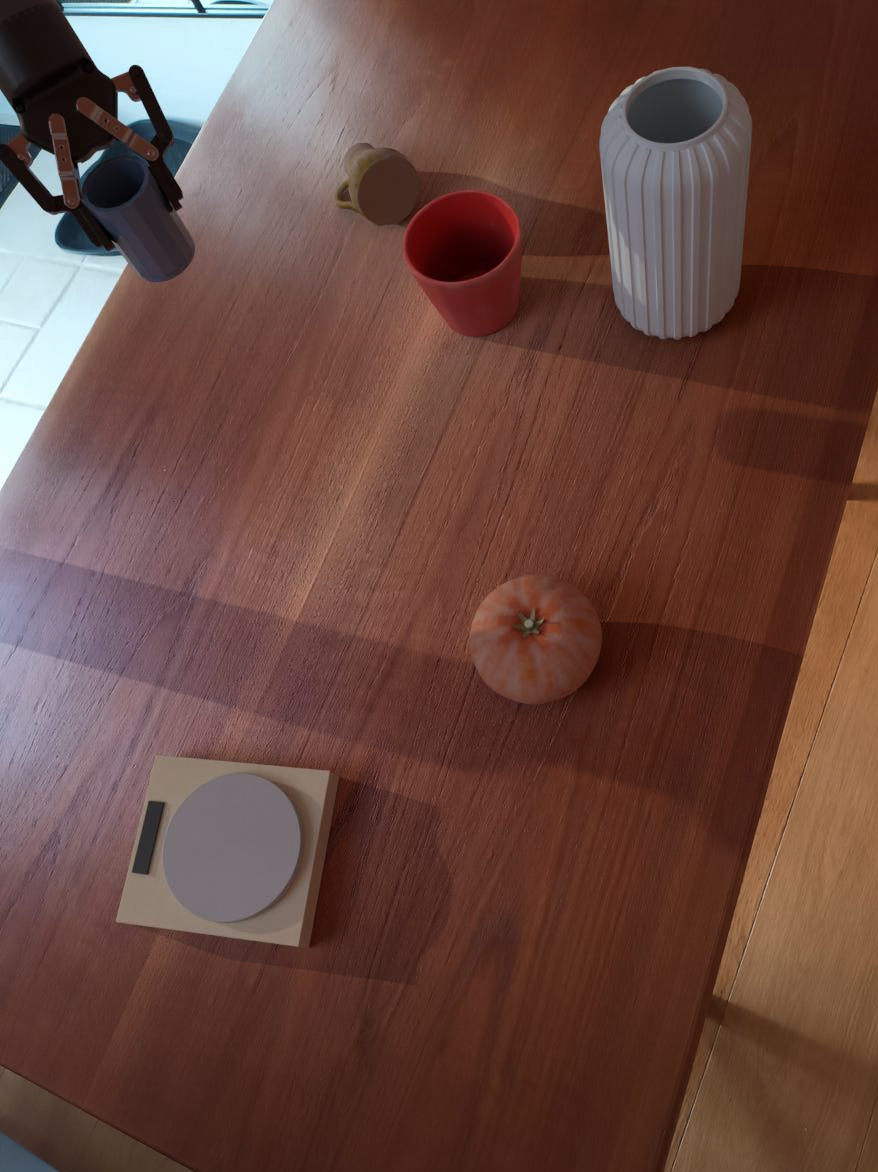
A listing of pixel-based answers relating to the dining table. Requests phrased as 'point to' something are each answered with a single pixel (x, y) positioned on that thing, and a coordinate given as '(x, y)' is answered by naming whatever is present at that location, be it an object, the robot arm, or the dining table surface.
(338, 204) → the mug
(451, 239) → the flower pot
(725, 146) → the vase
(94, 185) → the ceramic cup
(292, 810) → the scale
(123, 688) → the dining table surface
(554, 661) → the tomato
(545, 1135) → the dining table surface
